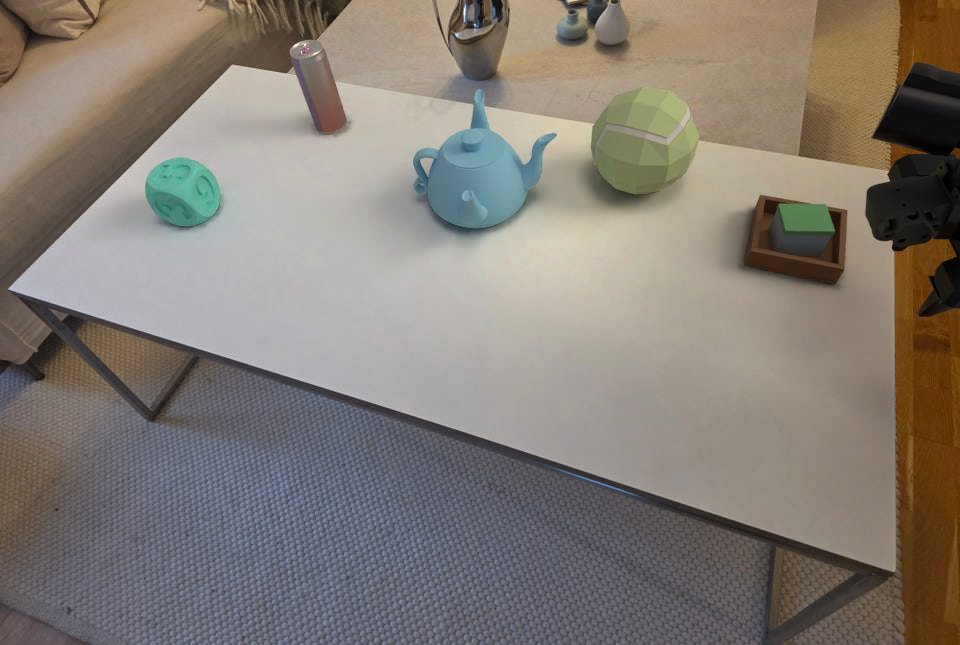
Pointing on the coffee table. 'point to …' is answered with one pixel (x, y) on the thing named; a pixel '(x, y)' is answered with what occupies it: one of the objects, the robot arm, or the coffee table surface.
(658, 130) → the tennis ball
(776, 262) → the tray
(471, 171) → the teapot
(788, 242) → the container
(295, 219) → the coffee table surface
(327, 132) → the beverage can
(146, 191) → the decorative dice
